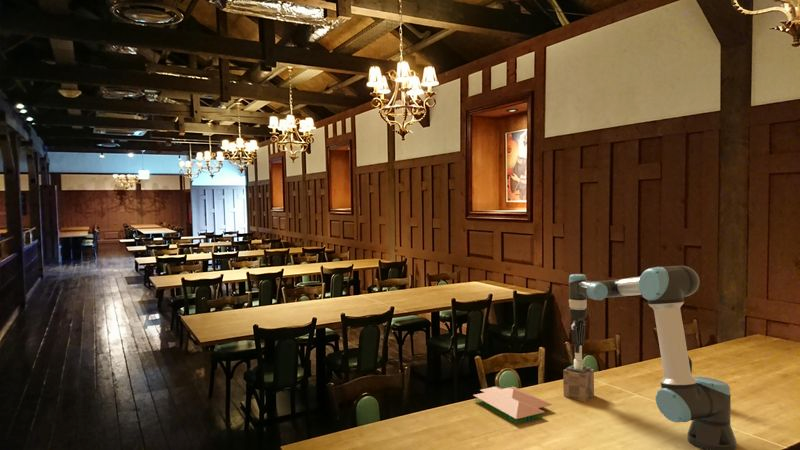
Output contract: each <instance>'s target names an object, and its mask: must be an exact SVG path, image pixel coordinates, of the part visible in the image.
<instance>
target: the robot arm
mask: <svg viewBox="0 0 800 450" xmlns="http://www.w3.org/2000/svg"><path fill="white" fill-rule="evenodd" d="M587 279H588V278H587V276H586V274H581V273H575V274H574V273H573V274H570V275H569V278H568V297H569V299H568V304H569V305H568V306H569V309H568V310H569V313H568V314H569V317H570V318H571V319H572V320H571V321H572V322H571V324H570V325H569V329H570V337H571V344H572V346H574V359H576V360H583V346H584V345H585V337H586V336H585V334H586V325H587V321H585V318H587V316H588V315H587V314H588V313H587V311H588V310H587V308H588V307H587V303H588V302H587V299H591V300H595V301H603V300H604V299H606V298H617V297H622V298H623V297H628V296H631V297H632V296H639V295H640V296H641V295H642V298H644V299H645V300H647V304H648V306H649V307H650V308H652V310H653V313H654V319H655V325H656V332H657V338H658V344H659V345H658V346H659V351H660V357H661V364H662V372H663V377H662V379H661V380H660V381H659V382H660V388H659V389H658V390H657V393H656V394H655V403H656V405H657V408H658V410H659V412H660V413H661V414H662V415H663V416H664V417H665V418H666V419H667V420H668V421H671V422H673V423H688V422H690V421H691V422H690V426H689V428H688V430H687V441H688V442H689V443H690V444H691V445H693V446H695V447H697V448H700V449H701V450H702V449H703V450H737V439H736V436H735V434H734V431H733V429H732V425H731V414H732V413H731V398H732V394H731V387H730V386H729V384H728V383H726V382H724V381H723V380H719V379H717V378H712V377H706V376H694V377H693V375H692V376H691V371H690V365H689V359H688V356H689V354H688V347H687V340H686V341H685V334H684V331H685V330H684V329H685V328H684V324H683V319H682V318H683V317H682V311H681V308H682V306H683V304H684V303H685V301H684V300H685V299H684V298H686V297H690V296H691V295H693V294H695V293H696V292H697V291H698V289H699V288H700V277H699V275H698V273H697V272H696V271H695V270H694V269H693V268H691V267H689V266H686V265H670V266H655V267H650V268H647V269H645V270H644V271H643V272H642V273H641V275H640V276H633V277H627V278H619V279H610V280H609V279H608V280H595V281H593V280H587Z"/></svg>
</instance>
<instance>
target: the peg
mask: <svg viewBox="0 0 800 450" xmlns="http://www.w3.org/2000/svg"><path fill="white" fill-rule="evenodd" d="M573 364H574V369H579V370H583V366H584V359H582V360H576V359H575V358H574V359H573Z"/></svg>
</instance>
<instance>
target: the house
mask: <svg viewBox="0 0 800 450" xmlns="http://www.w3.org/2000/svg"><path fill="white" fill-rule="evenodd" d="M479 391H481V392H480V393H477V394H475V393H474V394H473V395H472V396H473V397H475V400H477V402H480V401H481V404H482V406H483V407H485V408H486V409H488V406H490V409H492V410H493V412H494V413H496V414H497V413H499V414H500V416H501V417H503V414H505V415H506V417H505V420H509V421H510V422H512V421H513V419H514V424H515V425H516V426H518V420H519V422H520V424H521V425H522V423H523V421H526V423H528V422H529V419H530V422H532V421H535V420H540V419H541V420H542V414H544V413H545V411H544V410H542V408H545V407H549V406H552V405H553V404H552V403H550V402H549V401H545V400H543V399H542V398H539V397H537V396H535V395H533V394H531V393H529V392H526V391H525V390H522V389H520V388H518V387H516V386H511V387H505V388H501V387H499V386H496V385H495V386H491V387H487V388H482V389H479ZM478 398H479V399H478Z"/></svg>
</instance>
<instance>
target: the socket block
mask: <svg viewBox="0 0 800 450" xmlns="http://www.w3.org/2000/svg"><path fill="white" fill-rule="evenodd" d="M562 371H563V375H562V376H563V378H562V380H563V397H565V398H570V399H573V400H576V401H577V400H578V401H580V402H581V401H582V402H586V401H588V400H589V399H591V398H592V397H594V396H595V375H594V374H595V372H594V371H595V370H594V369H593V368H592V367H590V366H586V365H583V370H579V369H574V363H573V364H572V365H570V366H568V367H566V368H565V369H563V370H562Z"/></svg>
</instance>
